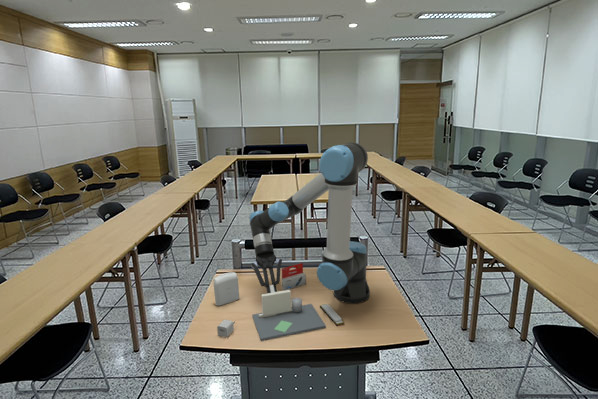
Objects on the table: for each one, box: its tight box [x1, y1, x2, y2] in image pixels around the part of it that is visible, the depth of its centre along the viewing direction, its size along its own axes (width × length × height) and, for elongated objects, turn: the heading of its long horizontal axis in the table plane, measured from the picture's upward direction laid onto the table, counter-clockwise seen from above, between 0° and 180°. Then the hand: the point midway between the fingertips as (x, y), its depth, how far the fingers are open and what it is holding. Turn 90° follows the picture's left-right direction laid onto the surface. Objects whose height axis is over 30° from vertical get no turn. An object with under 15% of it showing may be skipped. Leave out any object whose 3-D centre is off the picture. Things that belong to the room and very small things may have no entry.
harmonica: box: [319, 303, 345, 327], centre depth 144 cm, size 15×3×2 cm, turn 22°
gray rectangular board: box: [251, 303, 327, 342], centre depth 140 cm, size 24×16×1 cm, turn 107°
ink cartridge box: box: [281, 262, 307, 291], centre depth 166 cm, size 2×11×10 cm, turn 121°
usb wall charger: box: [216, 319, 236, 338], centre depth 135 cm, size 4×7×4 cm, turn 160°
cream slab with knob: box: [259, 289, 303, 317], centre depth 143 cm, size 17×4×8 cm, turn 107°
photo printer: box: [212, 271, 240, 306], centre depth 154 cm, size 10×4×12 cm, turn 123°
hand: (274, 302), depth 145 cm, fingers closed
